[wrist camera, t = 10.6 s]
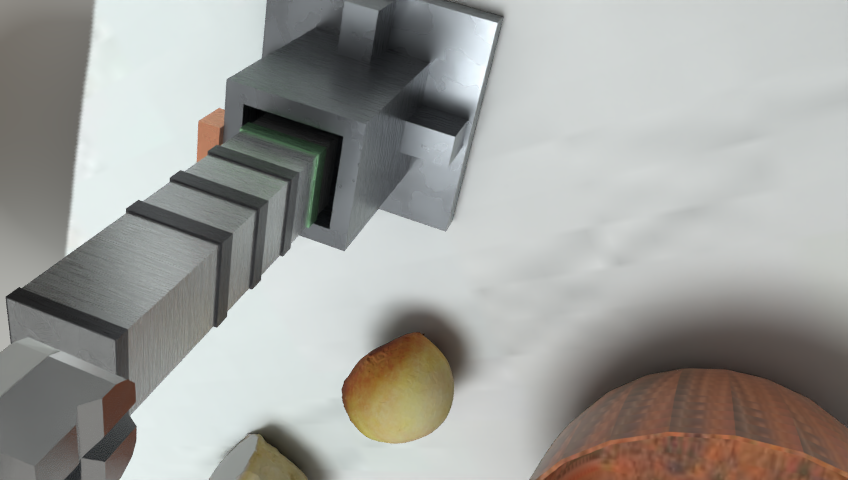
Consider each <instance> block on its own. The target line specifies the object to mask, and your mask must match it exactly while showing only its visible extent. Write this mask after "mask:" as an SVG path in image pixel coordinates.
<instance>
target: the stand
mask: <svg viewBox="0 0 848 480" xmlns="http://www.w3.org/2000/svg"><path fill="white" fill-rule="evenodd" d="M502 21H503V16H499V15H496V14H492V13H489V12H485V11H482V10H478V9H475V8H471V7H468V6H464V5H461V4H458V3H454V2H451V1H447V0H267V6H266V18H265V29H264V41H263V53H262V59H260V60H259V61H257V62H255V63H253V64H252V65H250V66H248V67H247V68H245V69H243V70H242V71H240V72H238V73H237V74H235V75H233V76H232V77H230V78H228V79H227V82H226V99H225V110H223V109H220V108H218V109H217V110H215V111H214V112H212V113H210V114H209V115H207V116H206V117H204V118H203V119H201V120H199V123H198V146H197V162H199V161H200V160H201V159H203V158H204V157H206V156H207V153H208V150H210V149H211V148H213V147H214V146H216V145H219V146H221V145H222V144H224V143H225V142H227V141H228V140H229V139H231V138H232V137H234V136H235V135H236V134H238V133H239V132H240V128H241V127H242V126H244V125H245V124H247V123H248V122H251V123H253V122H255V121H256V120H257V119H259V118H260V117H261V116H263V115H264V114H266V113H270V114H273V115H276V116H279V117H282V118H286V119H289V120H292V121H295V122H298V123H301V124H304V125H307V126H310V127H313V128H316V129H319V130H322V131H325V132H329V133H332V134H335V135H338V136H339V137H338V144H337V151H336V157H335V164H334V171H333V177H332V184H331V191H330V197H329V203H328V204H327V205H326V207H325V208H324V209H323V210H322V211H321V212H320V213H319V214H318V215H317V220H316V221H315V222H314V223H313V224H312V225H311V227H310V228H307V227H306V228H305V229H304V230H303V231H302V232H301V233H300V234H299V235H300V236H303V237H306V238H309V239H311V240H314V241H317V242H320V243H323V244H326V245H329V246H331V247H334V248H337V249H340V250H343V251H345V250H346V249H347V247H348V246H349V245H350V244H351V242H352V241H353V240H354V239H355V237H356V236H357V235H358V234H359V232H360V231H361V230H362V229H363V227H364V226H365V225H366V224H367V222H368V221H369V220H370V219H371V217H372V216H373V215H374V214H375V212H376V211H377V210H378V209H381V210H384V211H387V212H390V213H393V214H396V215H399V216H402V217H405V218H408V219H411V220H414V221H416V222H419V223H422V224H425V225H428V226H431V227H434V228H437V229H440V230H443V231H446V230H447V229H448V227H449V226H450V224H451V222H452V220H453V216H454V212H455V208H456V204H457V200H458V196H459V192H460V188H461V184H462V180H463V176H464V172H465V168H466V164H467V160H468V156H469V152H470V148H471V144H472V140H473V136H474V132H475V128H476V124H477V120H478V116H479V112H480V108H481V104H482V100H483V96H484V92H485V88H486V84H487V80H488V76H489V73H490V69H491V65H492V61H493V57H494V53H495V49H496V45H497V41H498V37H499V33H500V29H501V25H502Z"/></svg>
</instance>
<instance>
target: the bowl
mask: <svg viewBox="0 0 848 480" xmlns="http://www.w3.org/2000/svg"><path fill="white" fill-rule="evenodd" d="M529 480H848V428H847V427H846V426H844V425H843V424H842V423H840V422H839V421H838V420H837V419H835V418H834V417H833V416H831V415H830V414H829V413H828V412H826V411H825V410H824V409H822V408H821V407H820V406H819V405H817V404H816V403H815V402H813V401H812V400H810V399H809V398H807V397H805V396H803V395H801V394H798V393H796V392H794V391H792V390H790V389H788V388H785V387H783V386H781V385H779V384H777V383H775V382H772V381H770V380H768V379H765V378H761V377H757V376H752V375H748V374H744V373H739V372H735V371H731V370H726V369H700V368H683V369H677V370H672V371H666V372H661V373H655V374H650V375H646V376H643V377H641V378H639V379H636V380H634V381H632V382H630V383H627V384H625V385H623V386H620V387H618V388H616V389H614V390H611V391H610V392H608V393H606V394H605V395H604V396H602V397H601V398H600V399H599V400H597V401H596V402H595V403H594V404H593V405H591V406H590V407H589V408H588V409H586V410H585V411H584V412H583V413H582V414H580V415H579V416H578V417H577V418H576V419H574V420H573V421H572V422H571V423H570V424H569V425H568V426H567V427H566V428H565V429H564V430H563V431H562V432H561V434H560V435H559V436H558V437H557V438H556V440H555V441H554V442H553V444H552V445H551V447H550V448H549V449H548V451H547V452H546V454H545V455H544V457H543V458H542V460H541V462H540V463H539V465H538V466H537V468H536V470H535V471H534V473H533V475H532V476H531V478H530V479H529Z"/></svg>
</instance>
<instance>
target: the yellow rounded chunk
mask: <svg viewBox="0 0 848 480" xmlns="http://www.w3.org/2000/svg"><path fill="white" fill-rule="evenodd" d="M209 480H308V479H307V477H306V475H305V474H304V473H303V472H302V471H301V470H300V469H299V468H298V467H296V466H295V464H293V463H292V462H291V461H290V460H288V459H287V458H286V457H285V456H283V455H282V454H280V453H279V452H278V450H277V449H276V447H272V446H271V445H270V444H268V443H267V442H266V441H265V440H264V438H263V437H262V435H259V434H248V435H247V436H246V437H245V439H244V440H242V441H241V442H240V443H239V444H238V445H237V446H236V447H235V448H234V449H233V450H232V451H231V452H230V453H229V454H228V455H227V456H226V457H225V458H224V459H223V460H222V461H221V462H220V463H219V465H218V466H217V468H216V469H215V471H214V472H213V474H212V475H211V477H210V478H209Z"/></svg>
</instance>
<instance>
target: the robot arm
mask: <svg viewBox="0 0 848 480" xmlns="http://www.w3.org/2000/svg"><path fill="white" fill-rule="evenodd" d="M135 403H136V390H135V383H134V382H132V381H130V380H127V379H125V378H123V377H120V376H118V375H116V374H114V373H111V372H109V371H107V370H104V369H102V368H100V367H97V366H95V365H93V364H90V363H88V362H86V361H84V360H81V359H79V358H77V357H74V356H72V355H70V354H67V353H65V352H63V351H60V350H58V349H55V348H53V347H51V346H48V345H46V344H43V343H41V342H38V341H36V340H34V339H31V338H29V337H28V338H25V339H22V340H18V341H15V342H13V343H12V344H11V345H9V346H8V347H7V348H5V349H4V350H3V351H2V352H0V480H119V479H120V478H121V476H122V474H123V472H124V471H125V469H126V467H127V465H128V463H129V461H130V459H131V457H132V455H133V451H134V447H135V443H136V425H135V423H134V422H133V420H132V419H131V417H130V415H129V414H128V412H127V411H128V410H129V409H130V408H131V407H132V406H133V405H134V404H135Z"/></svg>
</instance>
